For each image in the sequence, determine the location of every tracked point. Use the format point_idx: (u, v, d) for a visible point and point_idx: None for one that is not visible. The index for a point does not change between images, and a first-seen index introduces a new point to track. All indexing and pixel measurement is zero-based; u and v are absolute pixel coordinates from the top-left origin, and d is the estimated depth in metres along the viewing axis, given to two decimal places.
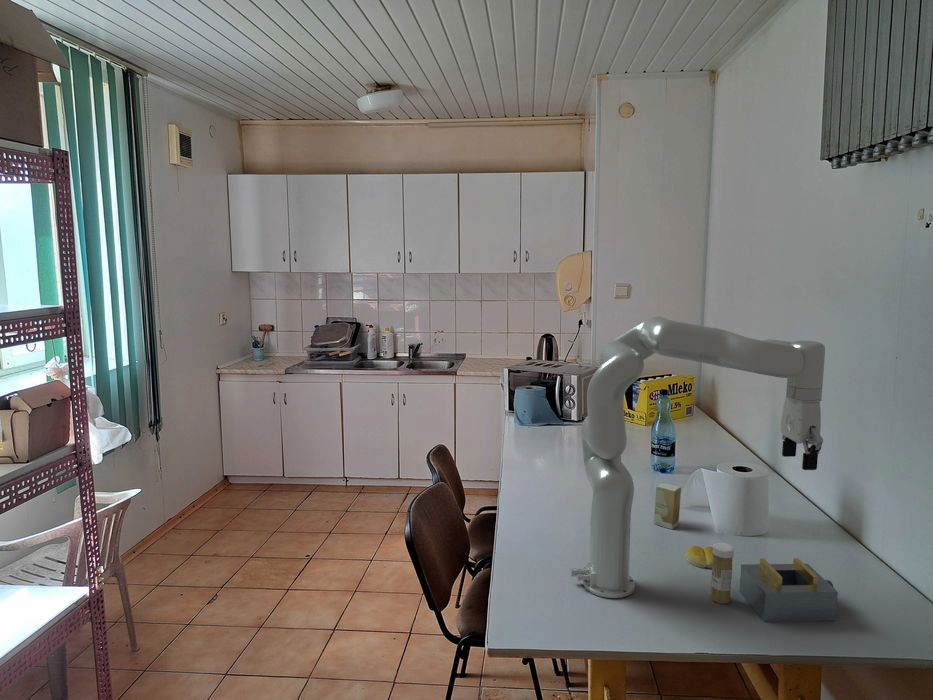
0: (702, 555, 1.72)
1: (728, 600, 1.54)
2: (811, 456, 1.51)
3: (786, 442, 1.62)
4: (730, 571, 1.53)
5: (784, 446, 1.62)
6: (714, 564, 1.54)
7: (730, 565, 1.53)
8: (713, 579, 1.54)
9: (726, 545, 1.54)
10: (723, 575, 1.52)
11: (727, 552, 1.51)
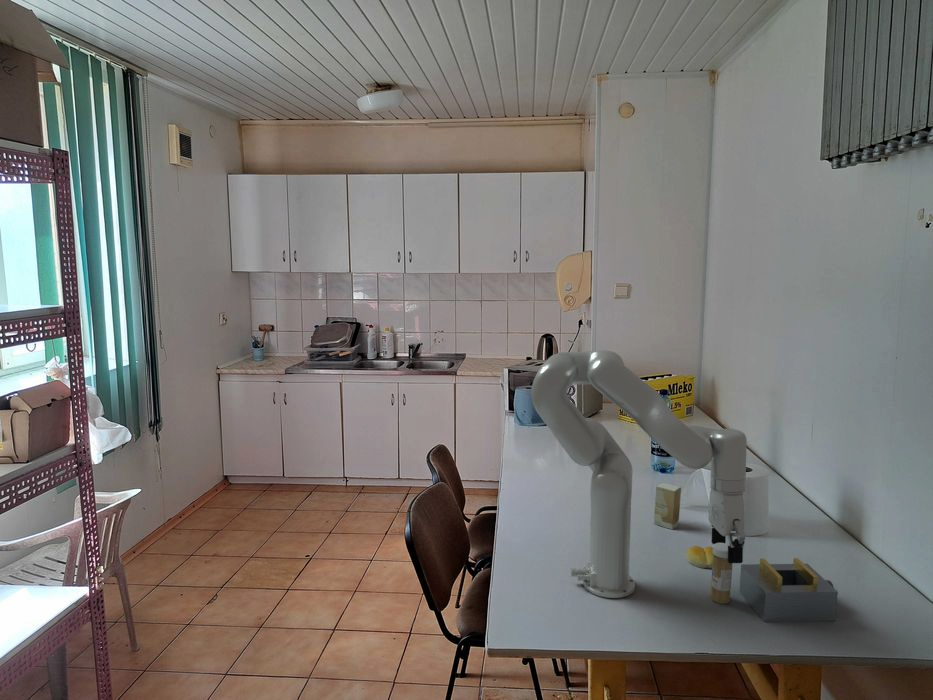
0: (702, 555, 1.72)
1: (728, 600, 1.54)
2: (735, 550, 1.47)
3: (715, 530, 1.58)
4: (730, 571, 1.53)
5: (713, 534, 1.58)
6: (714, 564, 1.54)
7: (730, 565, 1.53)
8: (713, 579, 1.54)
9: (726, 545, 1.54)
10: (723, 575, 1.52)
11: (727, 552, 1.51)
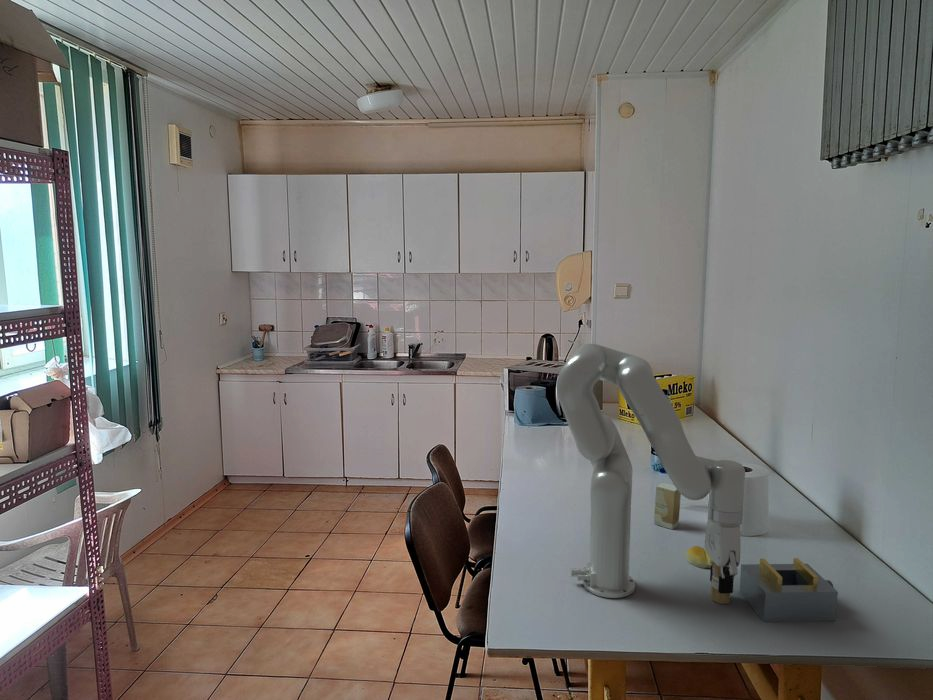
0: (703, 555, 1.72)
1: (728, 600, 1.54)
2: (726, 580, 1.51)
3: None
4: None
5: None
6: (714, 564, 1.54)
7: None
8: (713, 579, 1.54)
9: None
10: None
11: None
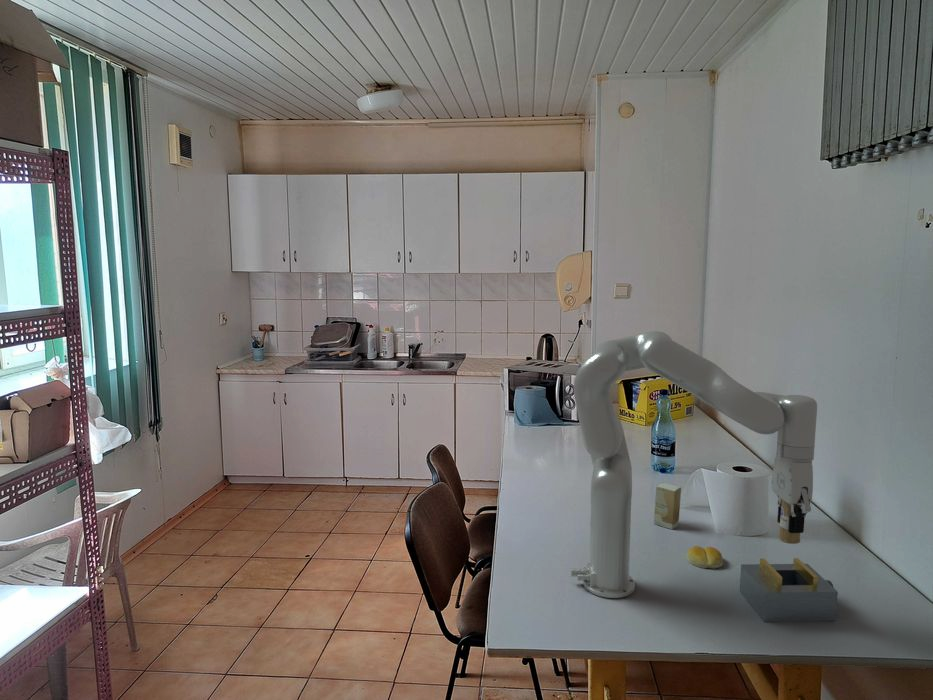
0: (703, 555, 1.72)
1: (798, 540, 1.48)
2: (797, 519, 1.46)
3: None
4: None
5: (779, 512, 1.52)
6: (783, 503, 1.48)
7: None
8: (782, 519, 1.49)
9: None
10: None
11: None
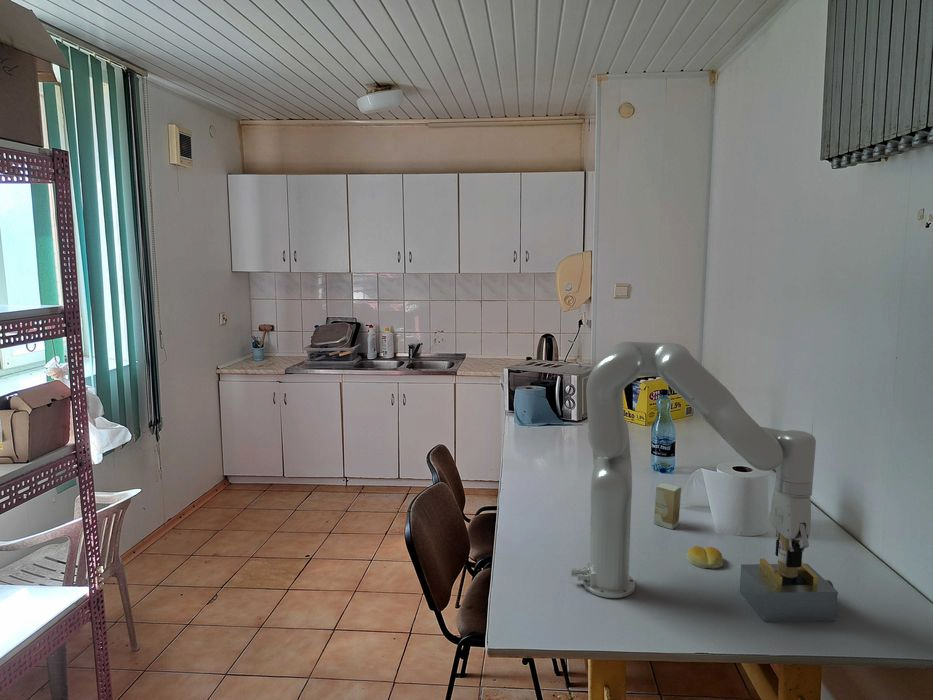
0: (703, 555, 1.72)
1: (796, 574, 1.50)
2: (795, 554, 1.47)
3: None
4: None
5: (778, 546, 1.53)
6: (782, 537, 1.50)
7: None
8: (780, 553, 1.50)
9: None
10: None
11: None
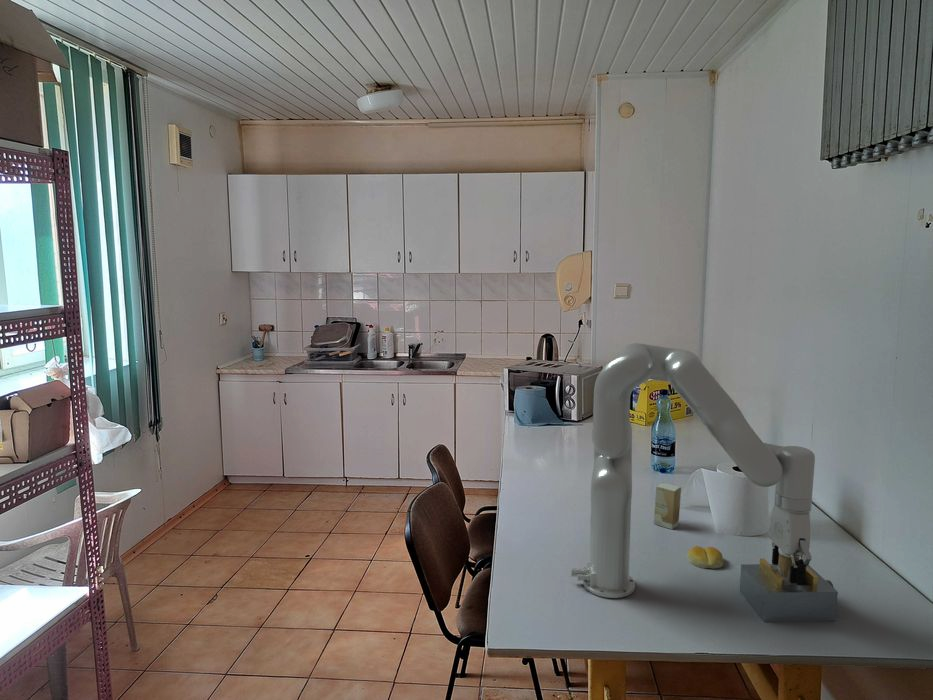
0: (704, 555, 1.72)
1: None
2: (799, 570, 1.46)
3: (776, 550, 1.55)
4: None
5: (774, 554, 1.55)
6: (780, 564, 1.50)
7: None
8: None
9: None
10: None
11: (795, 552, 1.48)
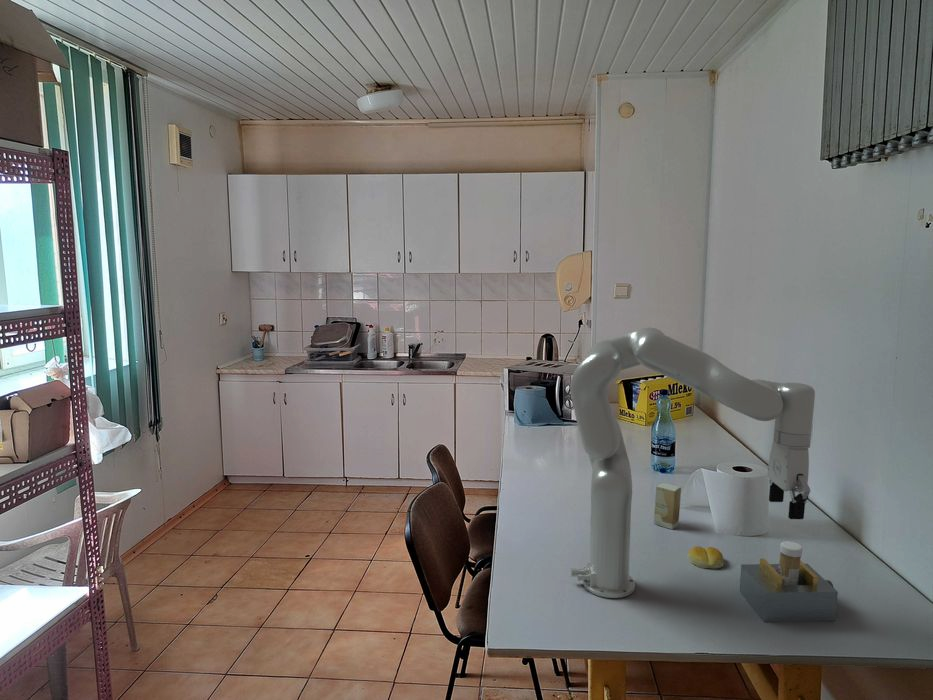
0: (704, 555, 1.72)
1: None
2: (798, 505, 1.44)
3: (773, 487, 1.54)
4: (798, 570, 1.50)
5: (771, 491, 1.55)
6: (781, 563, 1.51)
7: (798, 564, 1.49)
8: None
9: (794, 544, 1.51)
10: (791, 574, 1.49)
11: (797, 551, 1.48)
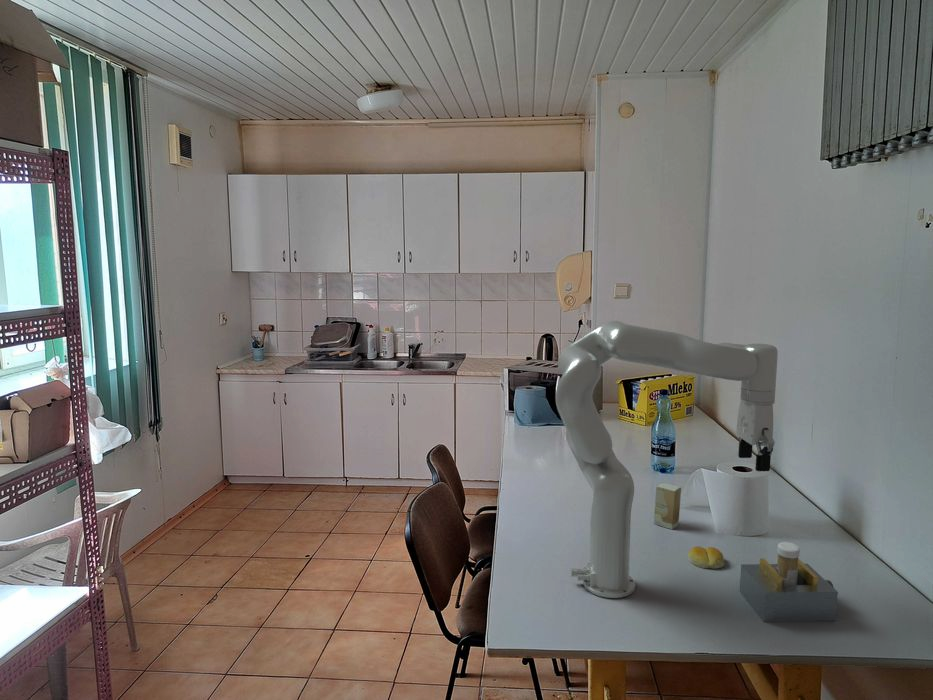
0: (705, 555, 1.72)
1: None
2: (764, 457, 1.53)
3: (742, 444, 1.64)
4: (796, 571, 1.49)
5: (740, 448, 1.64)
6: (779, 564, 1.50)
7: (796, 565, 1.49)
8: None
9: (791, 544, 1.50)
10: (790, 575, 1.49)
11: (794, 552, 1.48)
